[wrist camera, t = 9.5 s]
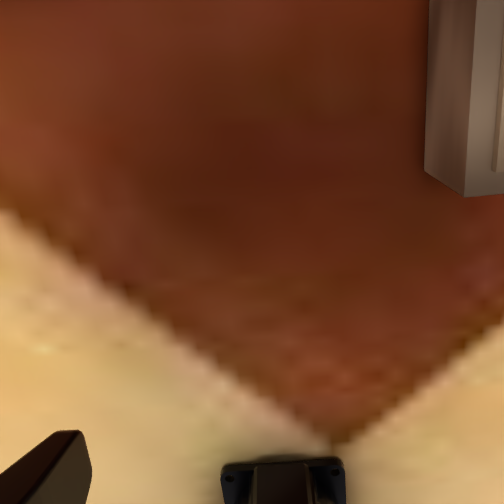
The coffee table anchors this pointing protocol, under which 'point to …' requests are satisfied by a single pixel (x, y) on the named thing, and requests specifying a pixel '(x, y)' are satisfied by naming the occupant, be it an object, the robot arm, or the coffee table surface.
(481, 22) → the pedestal
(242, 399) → the coffee table surface
